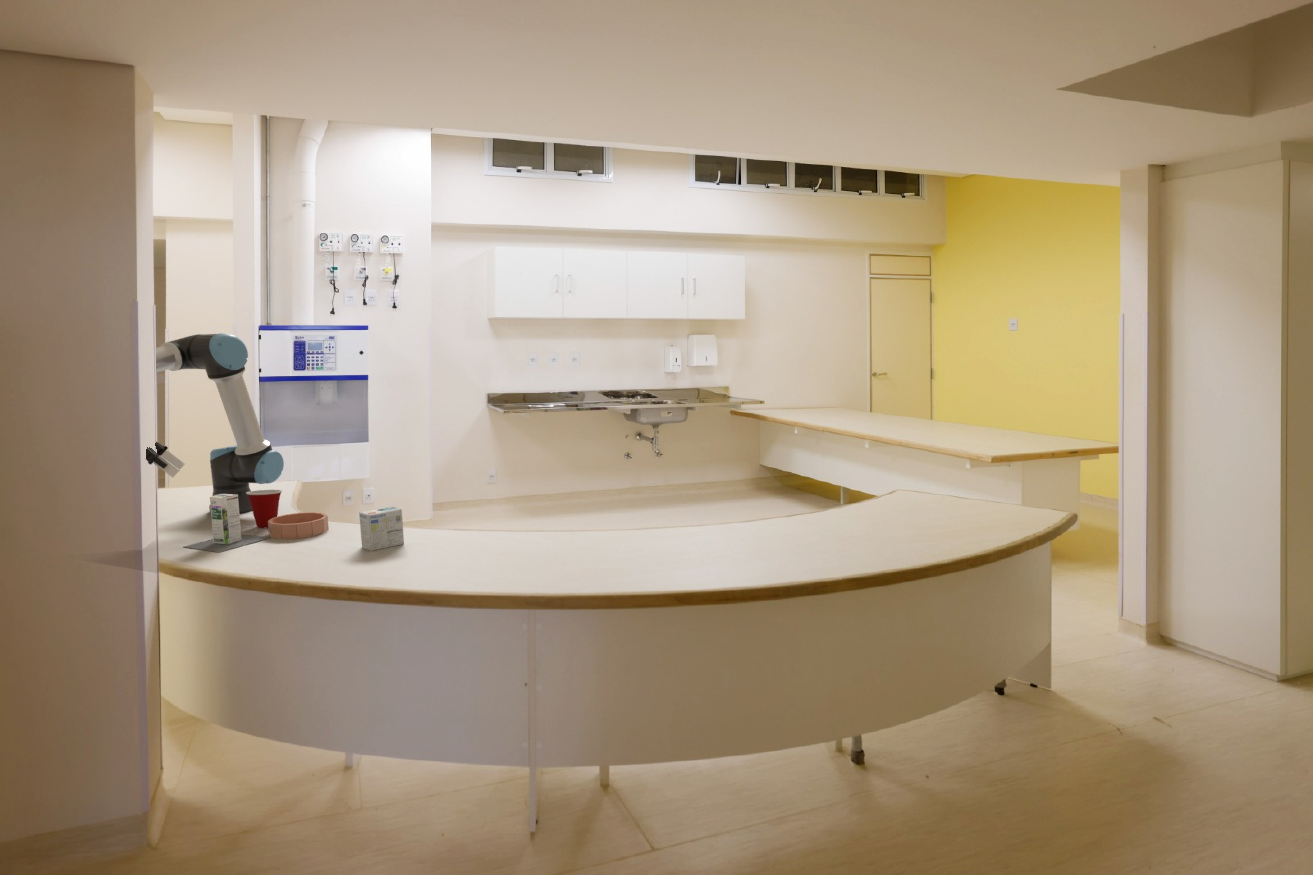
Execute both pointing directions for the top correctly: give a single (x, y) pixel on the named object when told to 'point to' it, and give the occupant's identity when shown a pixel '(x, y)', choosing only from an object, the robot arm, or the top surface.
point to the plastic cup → (264, 505)
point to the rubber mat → (216, 547)
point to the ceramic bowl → (298, 525)
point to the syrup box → (225, 518)
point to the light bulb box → (381, 528)
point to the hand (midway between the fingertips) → (179, 470)
